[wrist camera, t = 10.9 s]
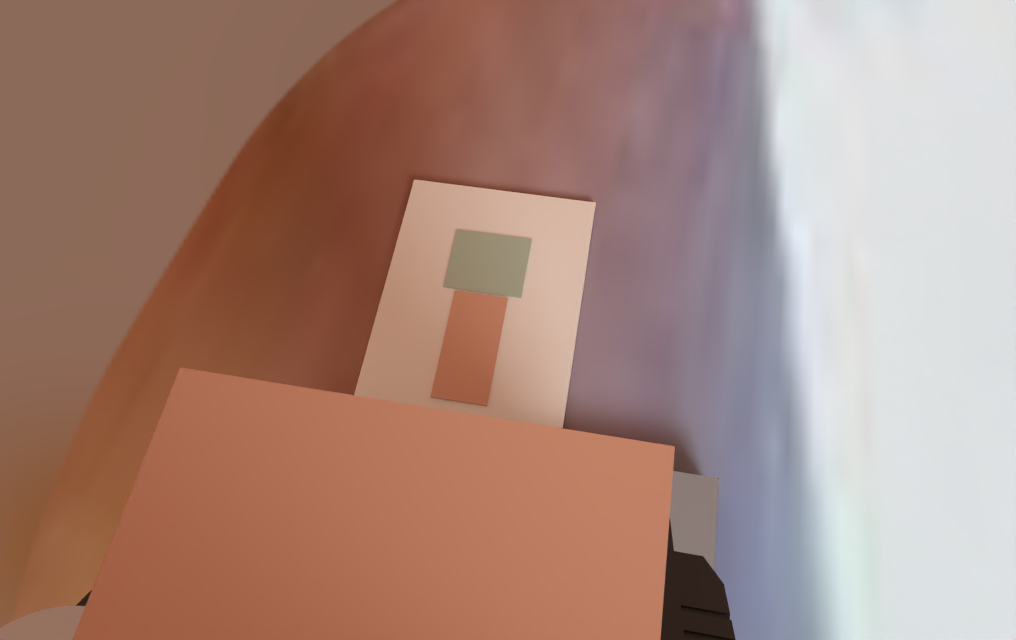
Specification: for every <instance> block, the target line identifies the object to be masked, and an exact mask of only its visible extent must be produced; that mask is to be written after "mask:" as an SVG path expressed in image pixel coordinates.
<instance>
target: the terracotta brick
mask: <svg viewBox="0 0 1016 640" xmlns="http://www.w3.org/2000/svg"><path fill="white" fill-rule="evenodd" d="M674 452H675V446H670V445H663V444H657V443H651V442H645V441H638V440H632V439H626V438H619V437H613V436H607V435H601V434H594V433H588V432H582V431H575V430H569V429H563V428H557V427H550V426H544V425H538V424H531V423H525V422H519V421H513V420H506V419H500V418H494V417H487V416H481V415H475V414H469V413H462V412H456V411H450V410H443V409H437V408H431V407H425V406H418V405H412V404H406V403H399V402H393V401H387V400H381V399H374V398H368V397H362V396H355V395H349V394H343V393H337V392H330V391H324V390H318V389H311V388H305V387H299V386H293V385H286V384H280V383H274V382H267V381H261V380H255V379H249V378H242V377H236V376H230V375H223V374H217V373H211V372H204V371H198V370H192V369H186V368H180V370H179V372H178V375H177V377H176V380H175V382H174V385H173V387H172V390H171V392H170V395H169V397H168V400H167V402H166V405H165V407H164V410H163V412H162V415H161V417H160V420H159V422H158V425H157V427H156V430H155V433H154V435H153V438H152V440H151V443H150V445H149V448H148V450H147V453H146V455H145V458H144V460H143V463H142V465H141V468H140V470H139V473H138V475H137V478H136V480H135V483H134V485H133V488H132V490H131V493H130V495H129V498H128V500H127V503H126V505H125V508H124V511H123V513H122V516H121V518H120V521H119V523H118V526H117V528H116V531H115V533H114V536H113V538H112V541H111V543H110V546H109V548H108V551H107V553H106V556H105V558H104V561H103V563H102V566H101V568H100V571H99V573H98V576H97V578H96V581H95V583H94V586H93V589H92V591H91V594H90V596H89V599H88V601H87V604H86V606H85V609H84V611H83V614H82V616H81V619H80V621H79V624H78V626H77V629H76V631H75V634H74V636H73V639H72V640H660V639H661V626H662V612H663V599H664V586H665V572H666V559H667V546H668V532H669V519H670V506H671V492H672V479H673V465H674Z"/></svg>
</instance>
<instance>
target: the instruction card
mask: <svg viewBox="0 0 1016 640" xmlns="http://www.w3.org/2000/svg"><path fill="white" fill-rule="evenodd" d="M595 205H596V203H595V202H587V201H579V200H571V199H563V198H556V197H548V196H540V195H532V194H524V193H516V192H509V191H501V190H493V189H485V188H477V187H469V186H461V185H454V184H446V183H438V182H430V181H422V180H414V182H413V186H412V189H411V193H410V196H409V200H408V203H407V207H406V211H405V214H404V218H403V221H402V225H401V229H400V232H399V236H398V239H397V243H396V246H395V250H394V254H393V257H392V261H391V264H390V268H389V271H388V275H387V279H386V282H385V286H384V289H383V293H382V296H381V300H380V304H379V307H378V311H377V314H376V318H375V321H374V325H373V329H372V332H371V336H370V339H369V343H368V346H367V350H366V354H365V357H364V361H363V364H362V368H361V371H360V375H359V379H358V382H357V386H356V389H355V393H354V395H355V396H362V397H368V398H374V399H381V400H387V401H393V402H399V403H406V404H412V405H418V406H425V407H431V408H437V409H443V410H450V411H456V412H462V413H469V414H475V415H481V416H487V417H494V418H500V419H506V420H513V421H519V422H525V423H531V424H538V425H544V426H550V427H557V428H563V423H564V416H565V409H566V403H567V396H568V389H569V382H570V375H571V368H572V362H573V355H574V348H575V341H576V334H577V328H578V321H579V314H580V307H581V300H582V293H583V287H584V280H585V273H586V266H587V259H588V253H589V246H590V239H591V232H592V225H593V218H594V212H595Z"/></svg>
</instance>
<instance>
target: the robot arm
mask: <svg viewBox="0 0 1016 640" xmlns="http://www.w3.org/2000/svg"><path fill="white" fill-rule="evenodd" d="M91 591H92V590H91ZM91 591H90V592H89V593H88V594H87V595H86V596H85V597H84V598H83V599H82V600H81V601H80V602H79V603H78V604H77V605H76V606H60V607H54V608H49V609H44V610H41V611H37V612H34V613H31V614H29V615H26V616H23V617H21V618H19V619H17V620H15V621H13V622H10V623H8V624H7V625H5V626H3V627H2V628H0V640H72V639H73V636H74V634H75V631H76V629H77V626H78V624H79V621H80V619H81V616H82V614H83V611H84V609H85V606H86V604H87V601H88V599H89V596H90V594H91ZM660 640H735V636H734V631H733V626H732V621H731V620H730V612H729V607H728V602H727V597H726V593H725V588H724V584H723V582H722V581H721V580H720V578H719V577H718V576H717V574H716V573H715V572H714V570H713V569H712V567H711V566H710V565H709V563H708V562H707V561H706V559H705V558H704V557H703V556H700V555H694V554H688V553H683V552H677V551H674V547H673V539H672V530H671V522H670V519H669V532H668V546H667V559H666V572H665V586H664V599H663V612H662V626H661V639H660Z"/></svg>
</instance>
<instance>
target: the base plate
mask: <svg viewBox="0 0 1016 640" xmlns="http://www.w3.org/2000/svg"><path fill="white" fill-rule="evenodd" d="M718 483H719V478H714V477H708V476H702V475H695V474H689V473H683V472H677V471H673V479H672V492H671V506H670V522H671V530H672V539H673V547H674V551H677V552H683V553H688V554H694V555H700V556H703V557H704V558H705V559H706V561H707V562H708V563H709V565H710V566H711V567H712V569H713V570H714V563H715V543H716V523H717V503H718Z"/></svg>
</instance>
